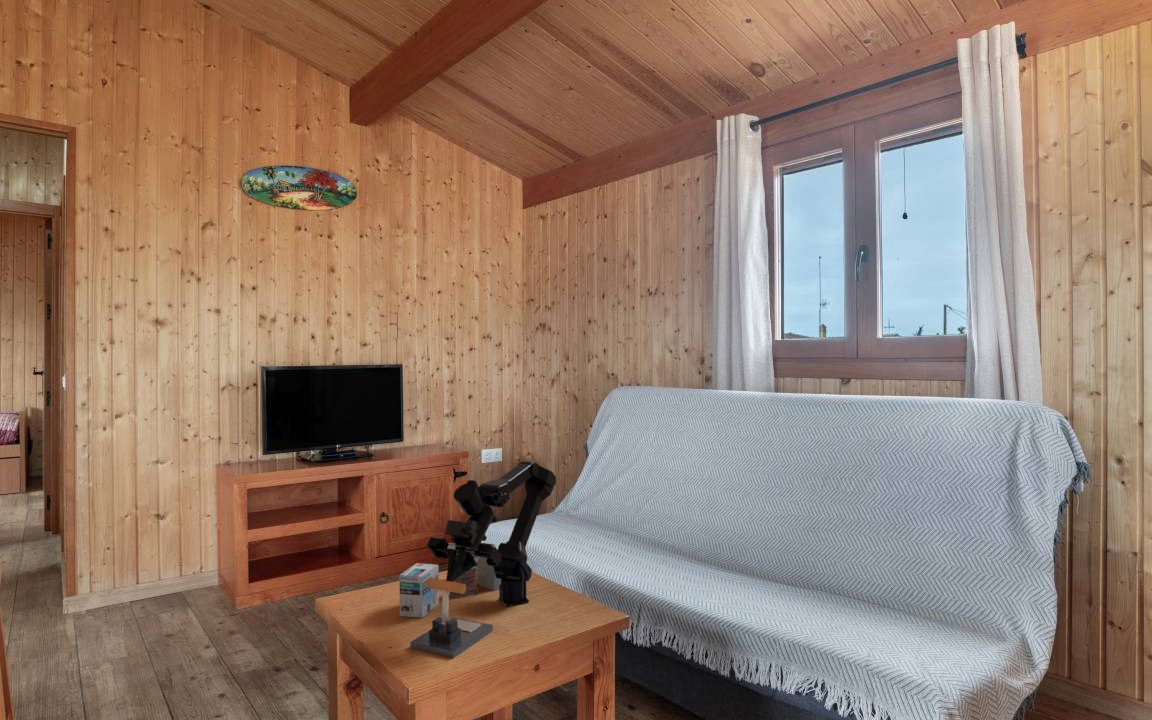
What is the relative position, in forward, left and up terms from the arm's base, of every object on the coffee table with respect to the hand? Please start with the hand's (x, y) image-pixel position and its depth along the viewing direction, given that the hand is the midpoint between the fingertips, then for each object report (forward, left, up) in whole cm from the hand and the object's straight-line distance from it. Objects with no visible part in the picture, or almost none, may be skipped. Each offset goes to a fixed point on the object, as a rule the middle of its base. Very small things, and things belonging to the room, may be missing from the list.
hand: (448, 582), depth 155 cm
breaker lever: (+1, +1, -9) cm, 10 cm away
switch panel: (-1, -1, -14) cm, 14 cm away
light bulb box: (0, -23, -14) cm, 27 cm away
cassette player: (-22, -34, -14) cm, 43 cm away
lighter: (-14, -28, -14) cm, 34 cm away
